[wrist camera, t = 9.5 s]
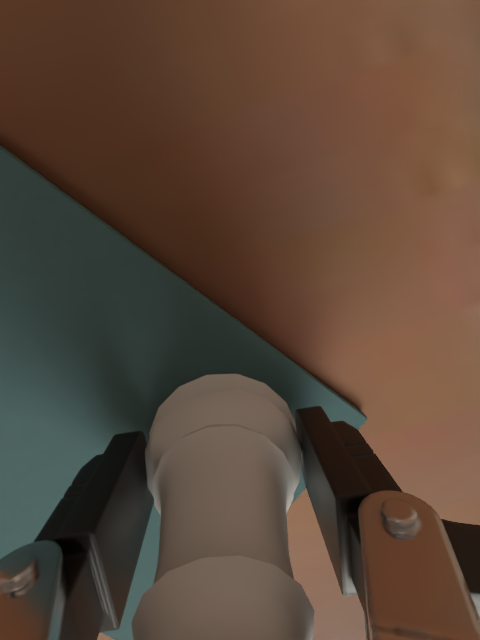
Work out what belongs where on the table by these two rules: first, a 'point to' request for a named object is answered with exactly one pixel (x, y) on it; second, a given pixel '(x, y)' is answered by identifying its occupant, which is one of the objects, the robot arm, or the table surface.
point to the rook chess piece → (223, 516)
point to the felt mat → (103, 355)
